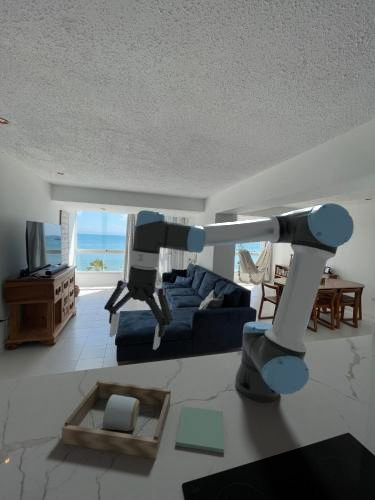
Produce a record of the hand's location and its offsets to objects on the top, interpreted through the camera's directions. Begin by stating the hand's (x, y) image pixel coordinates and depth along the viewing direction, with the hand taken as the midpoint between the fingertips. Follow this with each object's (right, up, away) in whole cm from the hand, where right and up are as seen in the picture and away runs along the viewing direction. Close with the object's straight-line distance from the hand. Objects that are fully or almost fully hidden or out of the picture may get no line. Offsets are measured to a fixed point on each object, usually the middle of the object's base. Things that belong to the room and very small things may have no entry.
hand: (134, 341), depth 62 cm
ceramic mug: (-3, -23, 0) cm, 23 cm away
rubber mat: (+19, -24, -1) cm, 30 cm away
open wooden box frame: (-3, -22, -1) cm, 23 cm away
